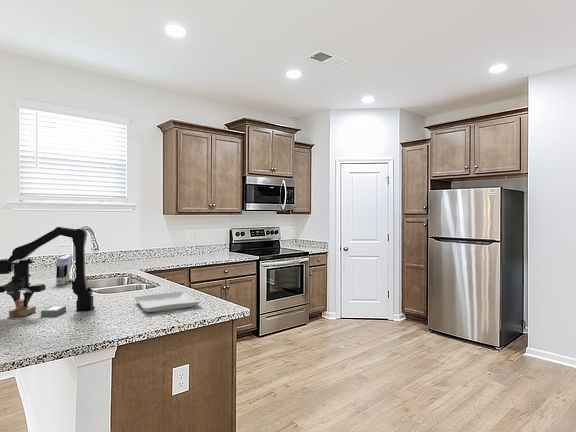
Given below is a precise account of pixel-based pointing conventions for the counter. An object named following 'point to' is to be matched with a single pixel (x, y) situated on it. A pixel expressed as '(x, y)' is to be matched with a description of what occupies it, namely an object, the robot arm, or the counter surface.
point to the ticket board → (53, 311)
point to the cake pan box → (63, 269)
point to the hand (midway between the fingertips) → (21, 306)
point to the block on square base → (22, 309)
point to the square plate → (166, 301)
